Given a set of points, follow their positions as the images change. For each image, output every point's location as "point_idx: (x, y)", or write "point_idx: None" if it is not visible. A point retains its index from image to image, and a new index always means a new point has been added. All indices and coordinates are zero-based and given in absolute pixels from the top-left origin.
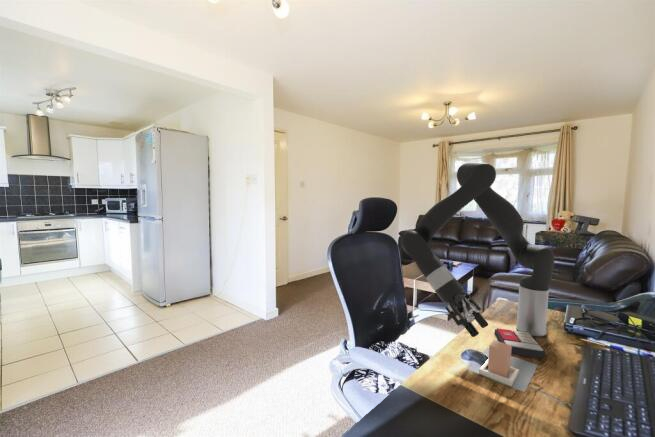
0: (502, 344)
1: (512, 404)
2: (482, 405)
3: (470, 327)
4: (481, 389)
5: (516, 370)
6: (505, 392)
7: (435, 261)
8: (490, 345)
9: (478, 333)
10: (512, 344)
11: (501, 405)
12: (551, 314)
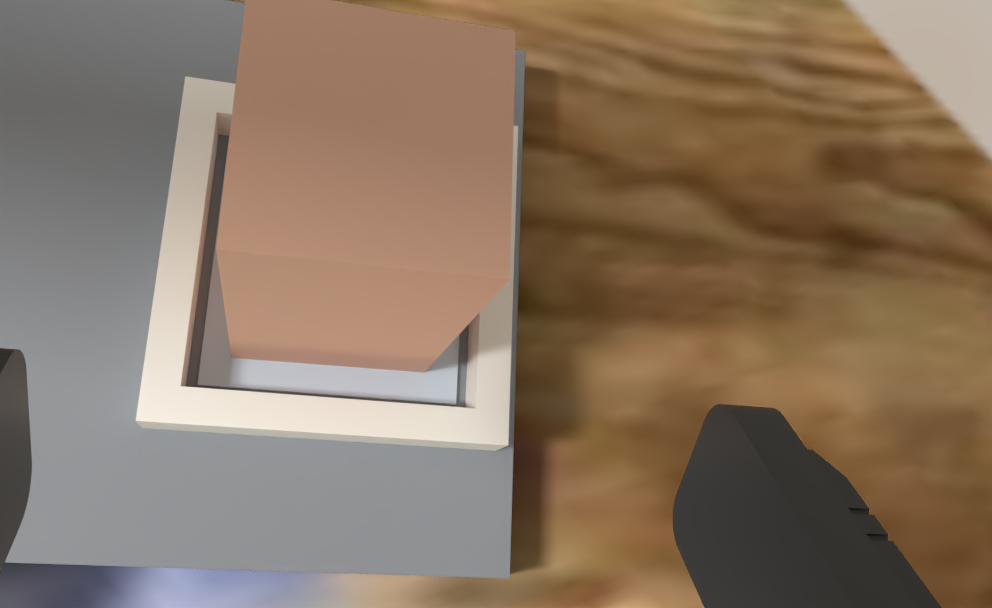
0: (307, 111)
1: (685, 141)
2: (868, 325)
3: (905, 570)
4: (670, 380)
5: (233, 99)
6: (559, 202)
7: None
8: (501, 264)
9: (745, 406)
10: None
11: (760, 208)
12: None
